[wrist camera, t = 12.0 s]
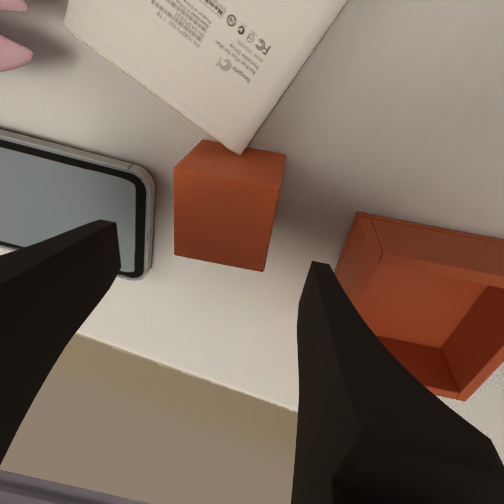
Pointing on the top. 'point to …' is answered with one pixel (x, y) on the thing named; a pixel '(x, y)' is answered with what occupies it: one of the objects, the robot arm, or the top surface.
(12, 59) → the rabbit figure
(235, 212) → the terracotta block
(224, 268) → the top surface
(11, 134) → the smartphone
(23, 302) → the robot arm
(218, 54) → the hard drive
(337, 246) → the top surface
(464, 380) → the terracotta bin
